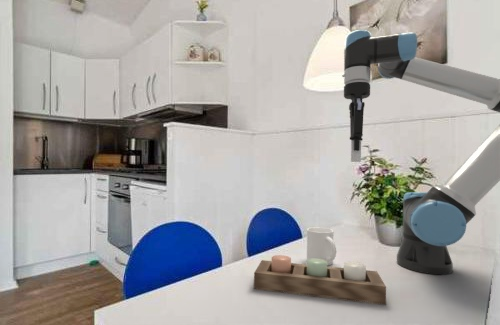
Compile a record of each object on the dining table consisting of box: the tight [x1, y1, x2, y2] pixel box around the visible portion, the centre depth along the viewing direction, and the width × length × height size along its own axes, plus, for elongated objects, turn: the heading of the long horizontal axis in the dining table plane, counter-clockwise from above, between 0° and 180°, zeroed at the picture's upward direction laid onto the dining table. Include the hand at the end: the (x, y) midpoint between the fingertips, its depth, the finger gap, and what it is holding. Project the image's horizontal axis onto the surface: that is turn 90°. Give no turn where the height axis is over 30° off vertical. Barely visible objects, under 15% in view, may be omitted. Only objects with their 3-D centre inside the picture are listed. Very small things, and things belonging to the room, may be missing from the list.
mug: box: [306, 226, 337, 266], centre depth 91 cm, size 12×8×10 cm
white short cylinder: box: [343, 261, 367, 282], centre depth 70 cm, size 5×5×4 cm
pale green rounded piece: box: [306, 258, 328, 278], centre depth 72 cm, size 5×5×4 cm
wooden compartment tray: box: [253, 259, 387, 306], centre depth 72 cm, size 30×10×4 cm, turn 77°
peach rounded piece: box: [271, 254, 292, 274], centre depth 74 cm, size 5×5×4 cm
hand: (355, 161), depth 87 cm, fingers closed
